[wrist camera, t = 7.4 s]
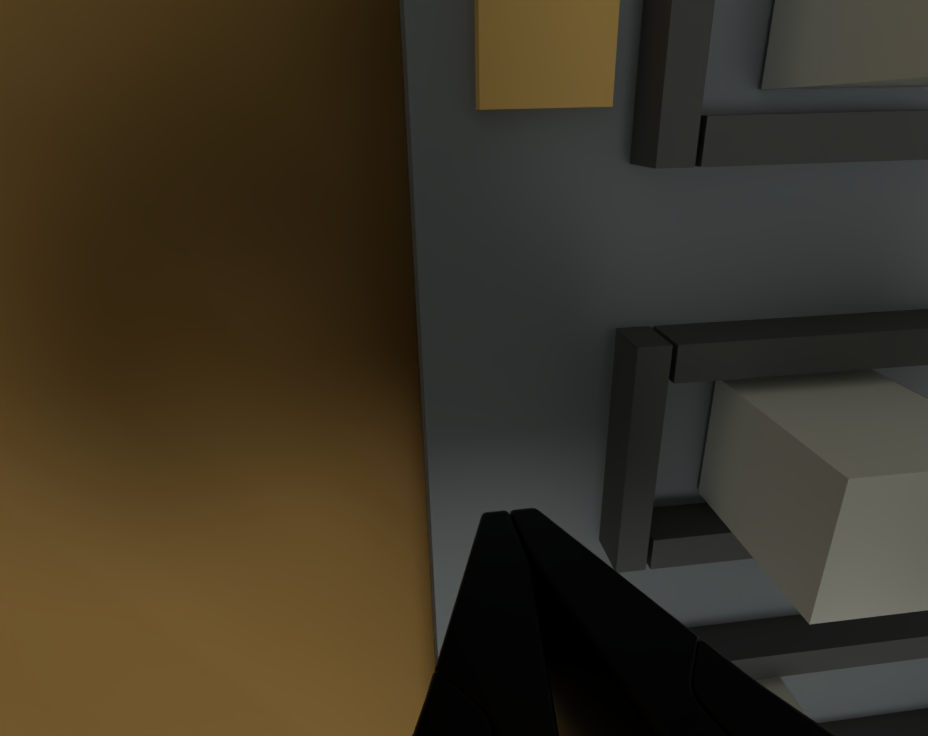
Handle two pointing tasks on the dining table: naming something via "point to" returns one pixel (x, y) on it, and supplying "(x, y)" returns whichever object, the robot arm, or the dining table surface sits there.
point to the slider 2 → (825, 488)
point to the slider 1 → (847, 44)
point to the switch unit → (654, 299)
